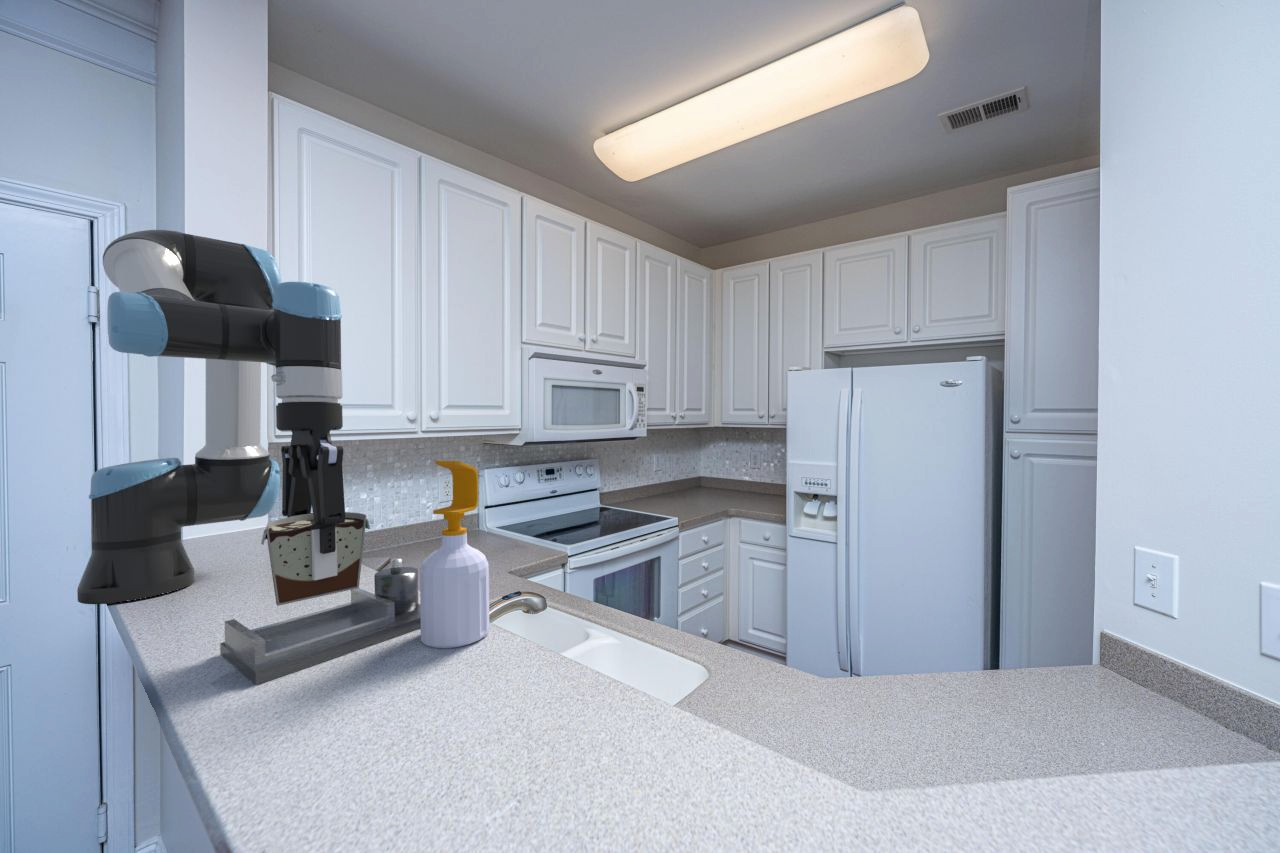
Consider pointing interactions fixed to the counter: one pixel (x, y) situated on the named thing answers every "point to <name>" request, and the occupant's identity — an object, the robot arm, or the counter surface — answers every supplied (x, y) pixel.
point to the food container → (295, 557)
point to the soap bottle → (455, 573)
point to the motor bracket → (327, 628)
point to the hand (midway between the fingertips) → (313, 572)
